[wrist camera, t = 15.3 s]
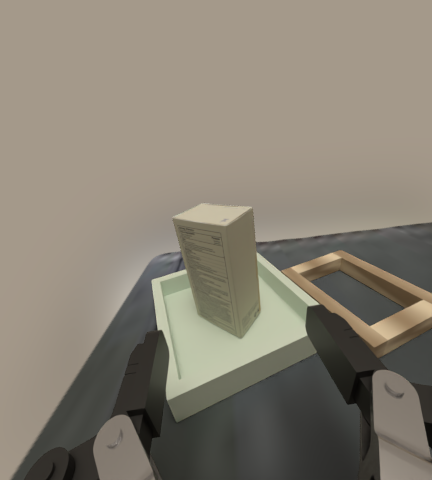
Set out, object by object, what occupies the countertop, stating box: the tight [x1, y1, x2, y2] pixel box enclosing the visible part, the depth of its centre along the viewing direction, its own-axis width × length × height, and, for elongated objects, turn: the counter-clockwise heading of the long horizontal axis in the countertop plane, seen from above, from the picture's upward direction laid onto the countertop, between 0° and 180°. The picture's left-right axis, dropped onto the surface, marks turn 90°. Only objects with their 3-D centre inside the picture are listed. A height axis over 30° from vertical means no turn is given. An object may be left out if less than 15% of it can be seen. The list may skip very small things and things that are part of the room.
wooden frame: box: [281, 250, 432, 358], centre depth 23 cm, size 10×12×2 cm
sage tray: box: [152, 252, 319, 423], centre depth 23 cm, size 15×15×3 cm
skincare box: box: [173, 203, 261, 338], centre depth 20 cm, size 6×4×12 cm
